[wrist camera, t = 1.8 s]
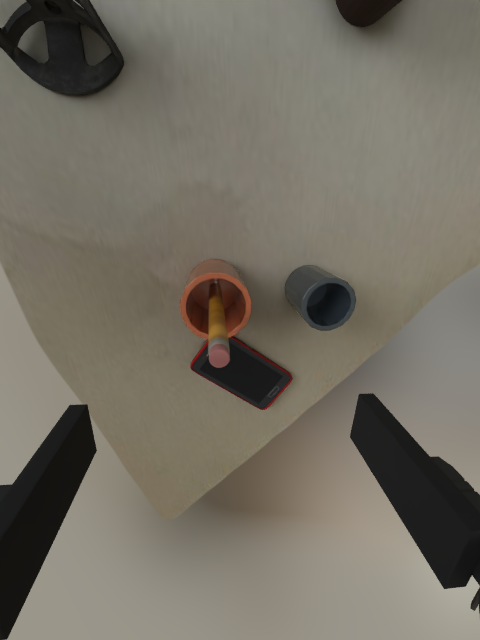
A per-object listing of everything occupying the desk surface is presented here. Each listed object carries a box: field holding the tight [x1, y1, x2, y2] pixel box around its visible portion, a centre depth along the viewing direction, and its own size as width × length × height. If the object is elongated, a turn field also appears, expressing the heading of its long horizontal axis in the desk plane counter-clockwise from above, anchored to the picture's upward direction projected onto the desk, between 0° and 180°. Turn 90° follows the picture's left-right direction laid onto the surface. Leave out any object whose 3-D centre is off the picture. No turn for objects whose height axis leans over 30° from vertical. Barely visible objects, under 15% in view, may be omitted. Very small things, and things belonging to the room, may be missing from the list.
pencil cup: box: [180, 259, 251, 339], centre depth 35 cm, size 8×8×9 cm
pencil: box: [208, 282, 230, 368], centre depth 29 cm, size 2×2×20 cm
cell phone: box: [191, 336, 292, 410], centre depth 43 cm, size 8×15×1 cm, turn 53°
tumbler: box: [285, 265, 356, 331], centre depth 36 cm, size 6×6×8 cm
